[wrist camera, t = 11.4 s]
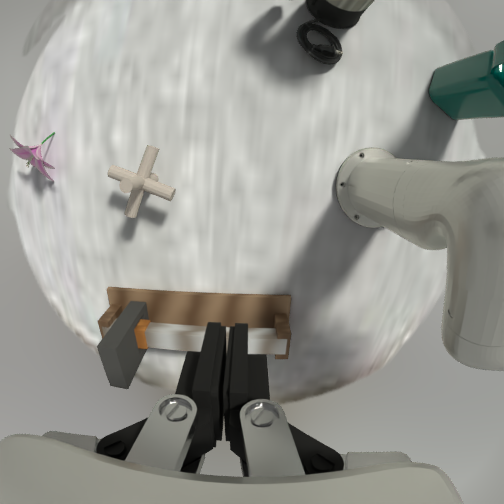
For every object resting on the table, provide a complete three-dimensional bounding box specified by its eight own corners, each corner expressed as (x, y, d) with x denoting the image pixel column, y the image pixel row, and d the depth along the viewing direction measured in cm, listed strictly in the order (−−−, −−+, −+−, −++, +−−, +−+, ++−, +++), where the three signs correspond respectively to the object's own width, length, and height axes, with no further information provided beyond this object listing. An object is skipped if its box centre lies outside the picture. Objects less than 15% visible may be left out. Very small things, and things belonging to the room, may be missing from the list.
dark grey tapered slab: (146, 302, 45) (115, 349, 32) (152, 338, 47) (128, 389, 34) (130, 300, 45) (97, 346, 32) (137, 336, 47) (110, 385, 34)
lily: (26, 139, 37) (-6, 166, 31) (45, 97, 31) (6, 122, 25) (62, 176, 44) (34, 207, 37) (86, 139, 38) (51, 170, 31)
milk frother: (347, -12, 29) (376, -55, 15) (383, 60, 34) (431, 30, 20) (270, -5, 30) (277, -57, 16) (304, 71, 35) (330, 32, 21)
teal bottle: (466, 92, 34) (549, 81, 13) (456, 124, 36) (547, 123, 16) (430, 59, 33) (512, 29, 12) (419, 92, 35) (510, 69, 14)
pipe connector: (170, 220, 42) (149, 238, 33) (116, 198, 41) (84, 209, 31) (193, 159, 39) (177, 159, 30) (136, 138, 38) (106, 134, 28)
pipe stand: (290, 294, 46) (296, 317, 39) (284, 347, 50) (289, 373, 43) (108, 286, 46) (90, 305, 39) (119, 336, 49) (105, 359, 42)
